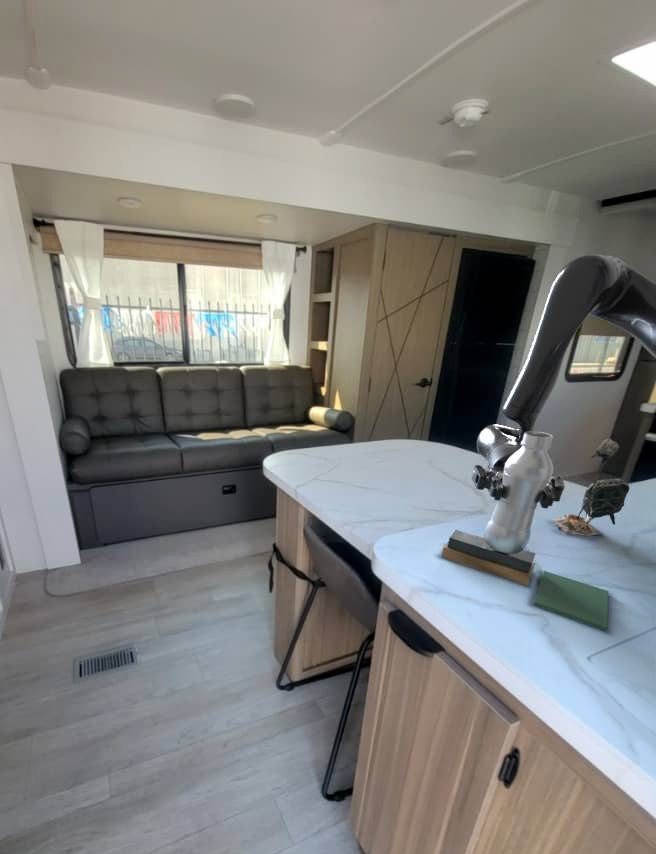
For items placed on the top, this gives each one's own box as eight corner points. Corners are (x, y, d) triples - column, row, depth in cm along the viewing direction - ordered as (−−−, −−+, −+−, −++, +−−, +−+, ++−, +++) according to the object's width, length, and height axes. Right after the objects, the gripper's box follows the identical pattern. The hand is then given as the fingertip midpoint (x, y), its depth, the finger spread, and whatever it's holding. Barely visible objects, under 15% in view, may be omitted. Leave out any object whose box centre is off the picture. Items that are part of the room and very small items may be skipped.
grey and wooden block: (532, 572, 70) (539, 553, 69) (527, 586, 67) (535, 565, 65) (449, 546, 78) (453, 527, 76) (441, 556, 74) (445, 537, 72)
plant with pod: (619, 545, 80) (665, 447, 71) (553, 533, 84) (589, 438, 75) (607, 527, 87) (647, 436, 78) (546, 517, 90) (578, 428, 82)
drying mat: (606, 593, 65) (608, 590, 65) (605, 630, 57) (607, 627, 57) (542, 573, 70) (543, 570, 70) (533, 604, 62) (534, 601, 62)
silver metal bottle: (487, 535, 74) (519, 426, 65) (528, 548, 70) (568, 434, 61) (475, 548, 69) (508, 433, 61) (519, 563, 65) (560, 443, 57)
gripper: (474, 441, 78) (478, 469, 64) (561, 452, 73) (586, 484, 59) (465, 478, 81) (466, 511, 67) (548, 490, 76) (568, 529, 62)
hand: (522, 498), depth 63 cm, fingers closed on silver metal bottle, 6 cm apart
